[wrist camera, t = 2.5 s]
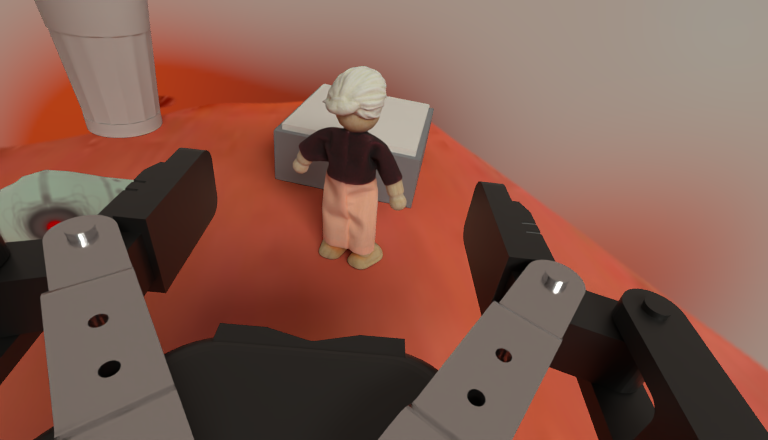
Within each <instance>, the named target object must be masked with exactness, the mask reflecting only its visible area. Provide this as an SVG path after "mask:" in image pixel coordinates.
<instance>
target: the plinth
mask: <svg viewBox="0 0 768 440" xmlns="http://www.w3.org/2000/svg"><path fill="white" fill-rule="evenodd" d="M331 86H332V85H327V84H323V85H322V86H321V87H319V88H318V89H317V90H316V91H315V92H314V93H313V94H312V95H311V96H310V97H309V98H308V99H307V100H305V101H304V102H303V103H302V104H301V105H300V106H299V107H298V108H297V109H296V110H295V111H294V112H293V113H292V114H291V115H290V116H288V117H287V118H286V119H285V120H284V121H283V122H282V123H281V124H280V125H279V126H278V127H277V128H276V129H275V130H274V155H275V179H279V180H284V181H288V182H293V183H297V184H302V185H307V186H311V187H316V188H321V189H324V184H325V176H326V171H327V169H328V166H329V162H327V161H313V162H312V163H311V164H310V165H309V168H308V170H307V172H305V173H302V174H301V173H297V172H296V171H295V170H294V169H293V162H294V160H295V159H296V158H297V154H298V152H299V144H300V143H301V142H302V141H303V140H305V139H306V138H307V137H309V136H310V135H311V134H313V133H314V132H316V131H318V130H320V129H323V128H327V127H339V128H344V127H343V126H342V125H341V124H340V123H339V121H338V119H337V117H336V115H335V114H332V113H330V112H329V111H328V110H327V109H326V107H325V105H326V104H325V103H324V102H322V101H324V100H325V99H326V98H327V94H328V91H329V88H330V87H331ZM384 104H385V105H384V106H383V107H382V111H381V114H380V117H379V120H378V122H377V123H376V125H375V126H374V127H373V128H372V129H370V130H368V132H369V133H371V134H372V135H374V136H376V137H378V138H379V139H380V140H382V141H383V142H384V143H385V144H387V146H388V147H389V149H390V151H391V153H392V154H393V156H394V158H395V160H396V162H397V165H398V167H399V169H400V171H401V174H402V183H403V188H404V193H403V195H404V196H405V198H406V201H407V202H406V206H405V207H408V208H411V206H412V201H413V197H414V193H415V189H416V185H417V181H418V177H419V173H420V169H421V165H422V160H423V156H424V152H425V148H426V143H427V139H428V134H429V129H430V124H431V119H432V115H433V110H434V109H433V108H429V104H424V103H419V102H413V101H409V100H404V99H399V98H393V97H388V96H387V97H386V98H385V100H384ZM376 180H377V187H378V201H381V202H385V203H390V202H389V201H390V197H389V195H388V194H387V190H386V187H385V185H384V183H383V182H382V180H381V177H380V175H379V173H378V171H377V169H376Z"/></svg>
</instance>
